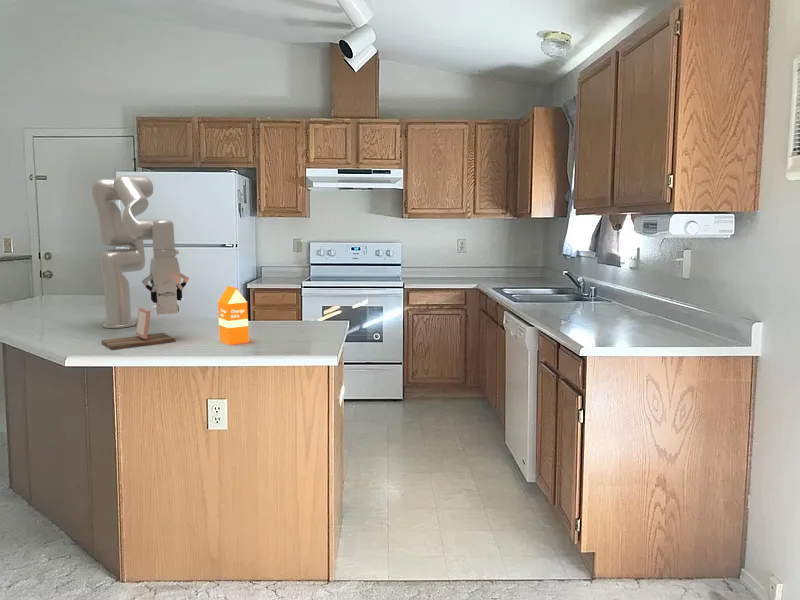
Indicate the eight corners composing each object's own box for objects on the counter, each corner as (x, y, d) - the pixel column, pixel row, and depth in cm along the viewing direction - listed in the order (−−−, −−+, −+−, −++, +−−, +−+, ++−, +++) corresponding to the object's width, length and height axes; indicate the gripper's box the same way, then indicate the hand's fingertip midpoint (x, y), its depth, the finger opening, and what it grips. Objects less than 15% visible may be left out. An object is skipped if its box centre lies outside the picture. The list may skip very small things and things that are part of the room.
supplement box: (157, 315, 245) (154, 280, 243) (156, 311, 252) (154, 278, 250) (178, 313, 248) (176, 279, 246) (177, 310, 255) (175, 277, 253)
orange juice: (228, 344, 239) (226, 288, 236) (219, 340, 246) (216, 286, 243) (249, 342, 243) (247, 287, 240) (239, 338, 250) (237, 284, 247)
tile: (139, 334, 248) (135, 334, 247) (142, 307, 248) (138, 307, 247) (147, 338, 240) (143, 338, 239) (150, 311, 240) (147, 310, 239)
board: (101, 343, 242) (101, 340, 242) (163, 336, 256) (162, 333, 255) (111, 349, 231) (111, 346, 231) (175, 341, 244) (175, 338, 244)
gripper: (184, 252, 254) (186, 298, 256) (136, 254, 243) (139, 302, 246) (191, 253, 248) (193, 300, 250) (143, 256, 238) (146, 304, 240)
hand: (167, 301), depth 248 cm, fingers closed on supplement box, 8 cm apart
